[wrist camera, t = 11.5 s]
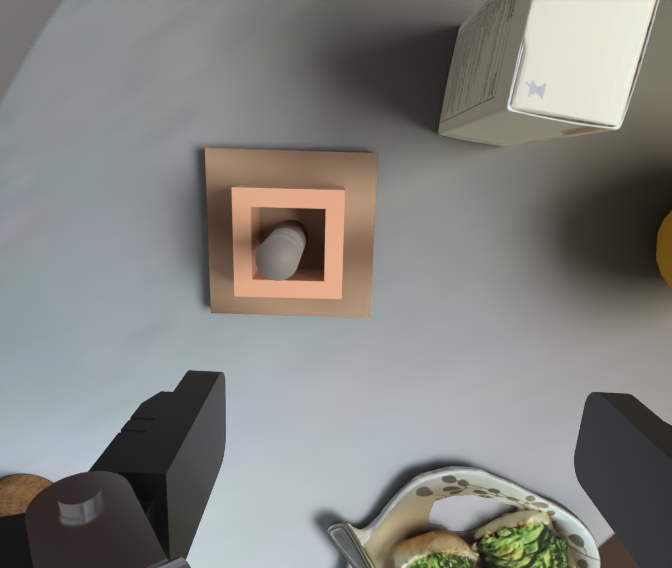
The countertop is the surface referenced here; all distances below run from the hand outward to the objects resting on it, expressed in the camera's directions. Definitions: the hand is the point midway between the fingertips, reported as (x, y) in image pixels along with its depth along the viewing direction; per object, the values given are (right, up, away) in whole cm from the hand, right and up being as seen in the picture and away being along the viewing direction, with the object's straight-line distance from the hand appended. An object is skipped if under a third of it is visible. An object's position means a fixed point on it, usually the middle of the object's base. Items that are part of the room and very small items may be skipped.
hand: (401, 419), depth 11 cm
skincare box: (+7, +15, +18) cm, 24 cm away
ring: (-4, +6, +19) cm, 20 cm away
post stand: (-4, +6, +20) cm, 21 cm away
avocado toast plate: (+8, -19, +27) cm, 34 cm away
